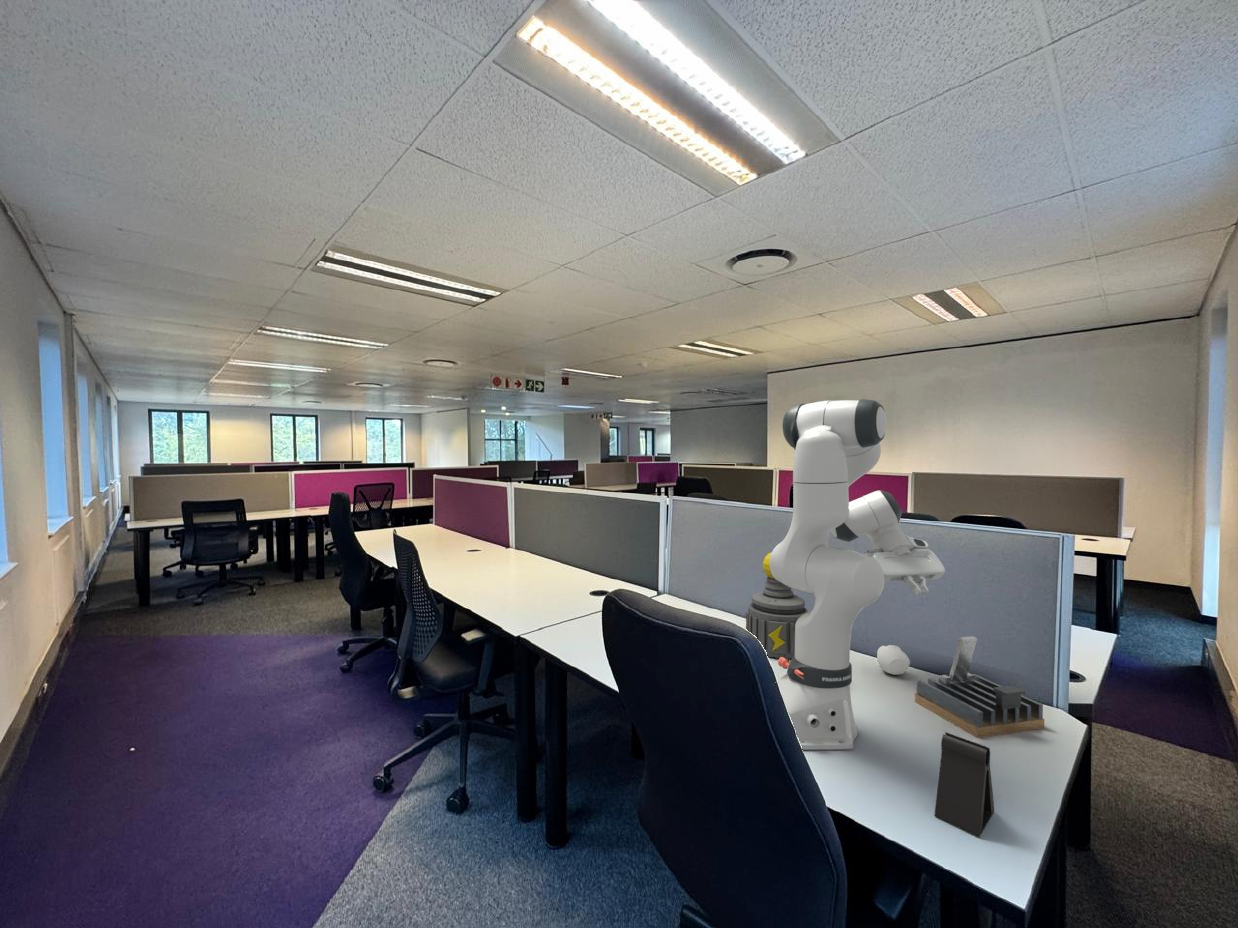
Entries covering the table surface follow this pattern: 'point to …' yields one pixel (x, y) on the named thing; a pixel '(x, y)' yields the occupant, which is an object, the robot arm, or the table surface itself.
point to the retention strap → (962, 658)
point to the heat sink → (980, 705)
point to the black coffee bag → (964, 785)
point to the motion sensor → (892, 659)
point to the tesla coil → (775, 616)
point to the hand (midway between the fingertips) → (922, 593)
